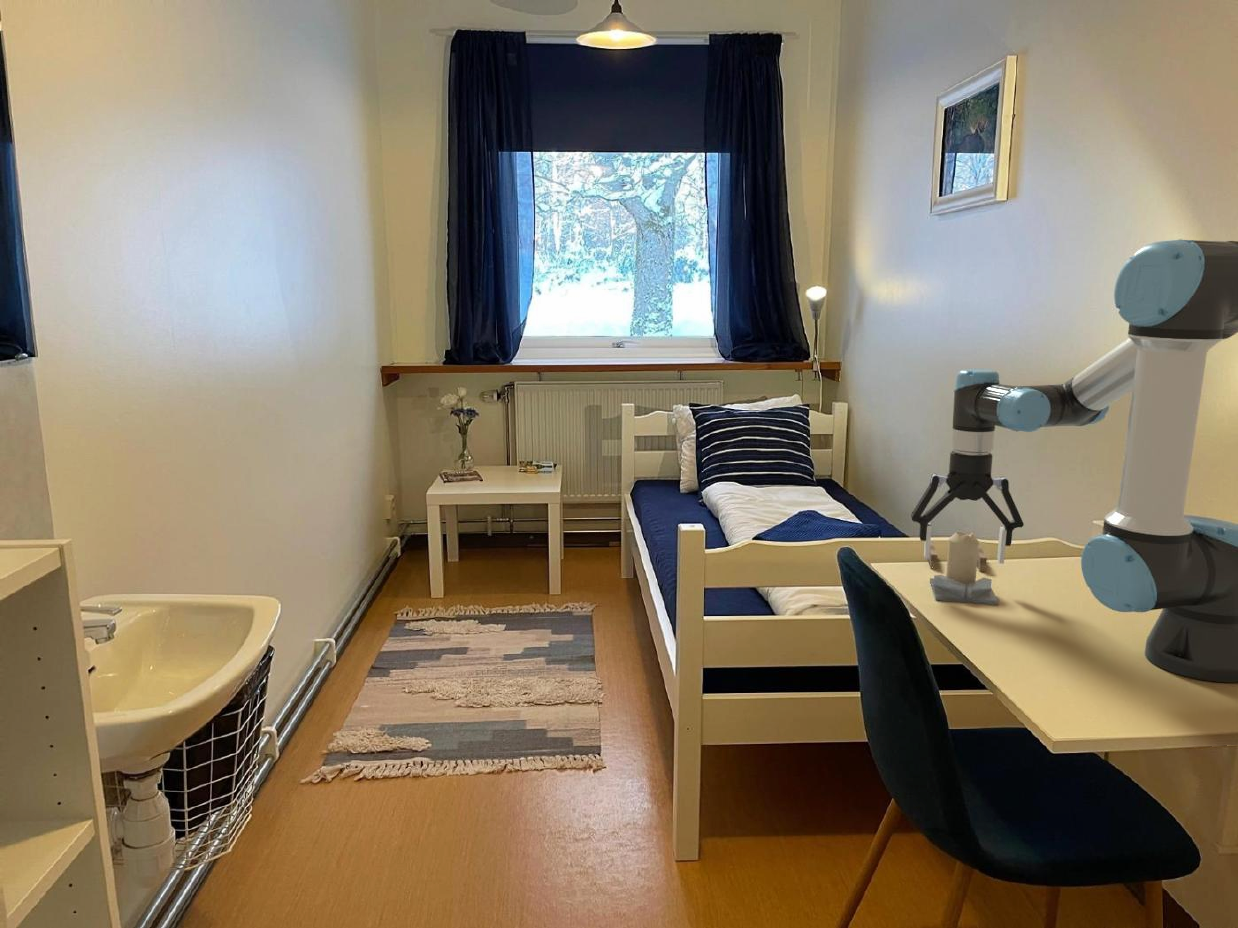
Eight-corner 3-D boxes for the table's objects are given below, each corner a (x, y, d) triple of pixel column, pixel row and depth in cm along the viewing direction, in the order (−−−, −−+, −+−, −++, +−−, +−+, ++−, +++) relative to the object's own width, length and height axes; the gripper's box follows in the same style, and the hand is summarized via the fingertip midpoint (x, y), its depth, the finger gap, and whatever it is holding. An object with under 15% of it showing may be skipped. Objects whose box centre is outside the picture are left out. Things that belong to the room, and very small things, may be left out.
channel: (985, 571, 194) (986, 557, 193) (930, 568, 196) (931, 554, 196) (978, 558, 204) (979, 544, 203) (925, 554, 206) (926, 541, 205)
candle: (970, 577, 188) (974, 529, 186) (979, 586, 182) (983, 536, 180) (942, 577, 188) (945, 528, 186) (950, 586, 182) (953, 536, 181)
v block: (997, 604, 175) (998, 590, 174) (935, 600, 177) (936, 586, 176) (988, 586, 185) (989, 572, 185) (929, 582, 187) (930, 568, 187)
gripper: (1037, 450, 179) (1028, 557, 183) (901, 445, 184) (895, 549, 188) (1046, 457, 172) (1036, 569, 176) (904, 452, 177) (897, 560, 181)
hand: (963, 559), depth 182 cm, fingers open, 13 cm apart
